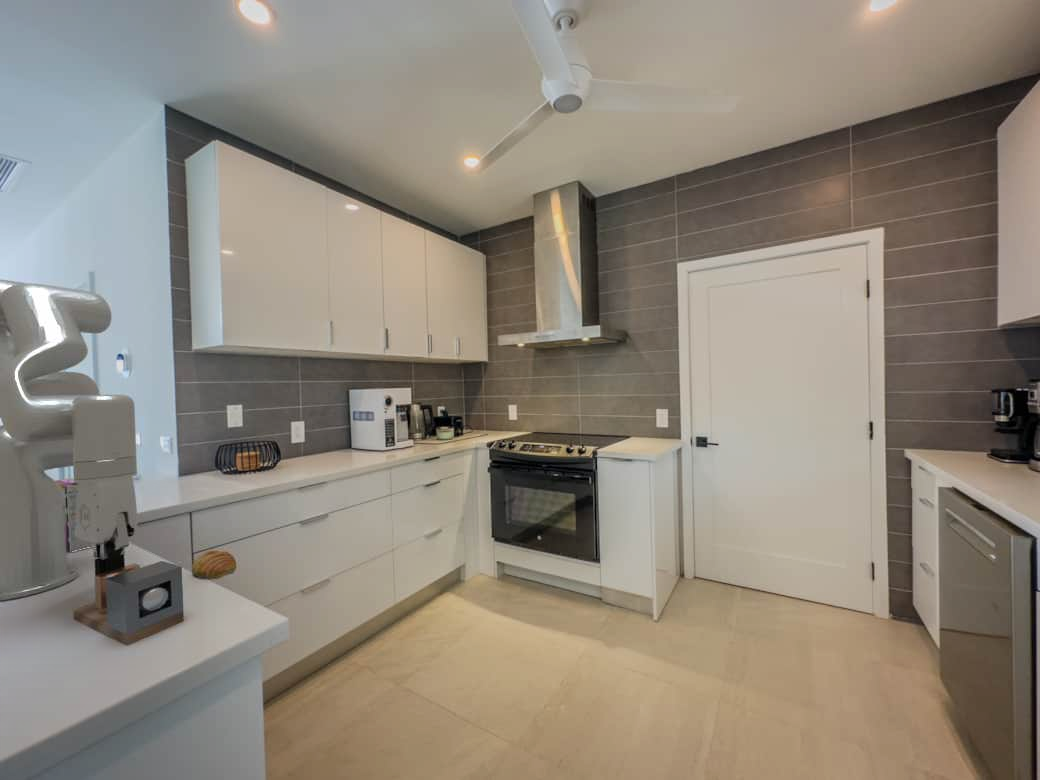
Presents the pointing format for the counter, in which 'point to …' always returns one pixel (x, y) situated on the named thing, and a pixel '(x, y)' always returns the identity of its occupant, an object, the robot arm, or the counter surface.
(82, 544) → the candy bar box
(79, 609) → the shaft frame
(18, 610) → the counter surface
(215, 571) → the pastry
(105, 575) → the shaft
